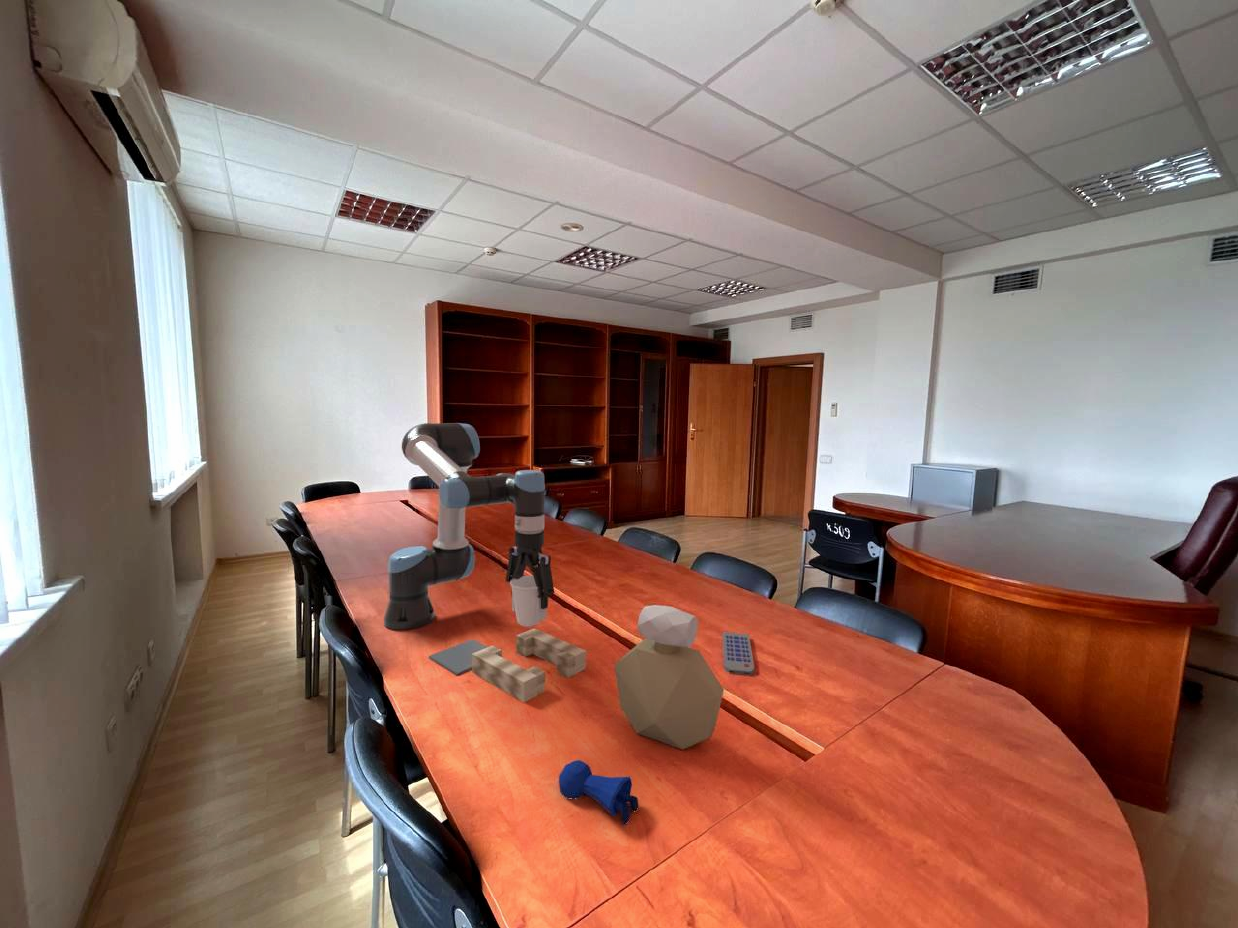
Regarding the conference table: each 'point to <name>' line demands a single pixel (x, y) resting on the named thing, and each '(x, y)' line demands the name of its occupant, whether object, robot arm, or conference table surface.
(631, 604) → the conference table surface
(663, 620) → the perfume bottle
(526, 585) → the cup
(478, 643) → the coaster
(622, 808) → the toy
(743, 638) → the remote control
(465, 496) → the robot arm
